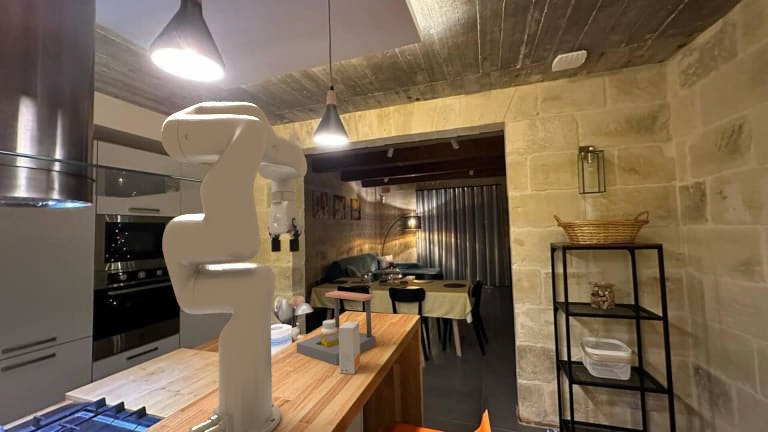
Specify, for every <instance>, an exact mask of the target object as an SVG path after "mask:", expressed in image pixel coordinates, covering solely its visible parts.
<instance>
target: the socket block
mask: <svg viewBox="0 0 768 432" xmlns="http://www.w3.org/2000/svg"><path fill="white" fill-rule="evenodd" d="M324 295H325V296H324V297H328V298H334V299H333V301H334V320H335V322H336V325H335V327H337V329H338V344H337V345H335V346H332V347H330V348H329V347H325V346H321V333H319V334H318V335H315V336H312V337H310V338H307V339H304V340H302V341H301V340H300V341H298V342H296V353H297V354H300V355H303V356H306V357H309V358H312V359H315V360H318V361H322V362H324V363H328V364H331V365H333V366H339V327H340V326H341V325H340V299H345V300H350V301H357V302H358V301H359V302H365V321H366V322H365V324H366V325H365V326H366V333H363V332H359V336H360V354H362V353H364V352H366V351H369V350H370V349H372V348H373V347H376V346H377V336H376V335H373V334H372V313H371V312H372V311H371V309H372V308H371V306H372V305H371V299H373V300H374V299H375V294H370V293H369V294H367V293H360V292H351V291H339V290H334V291H330V292H326V293H324Z"/></svg>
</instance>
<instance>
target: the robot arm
mask: <svg viewBox="0 0 768 432" xmlns="http://www.w3.org/2000/svg"><path fill="white" fill-rule="evenodd" d="M160 140H161V144H162V146H163V149H164V151H165V152H166V153H167V154H168V155H169V156H170V157H171V158H172V159H174V160H176V161H178V162H180V163H185V164H186V163H187V164H208V163H209V164H210V163H211V164H213V163H214V164H213V165H212V166H211V168H210V169H209V171H207V172H206V175H205V177H204V178H203V180H202V182H201V185H200V188H199V194H200V200H201V207H202V210H203V213H191V214H190V213H188V214H182V215H178V216H175V217H174V218H172V219H171V220H170V221H169V222H168V223H167V225H165V229H164V231H163V236H162V243H161V244H162V252H163V253H162V254H163V257H164V262H165V265H166V268H167V271H168V275H169V278H170V281H171V285H172V288H173V291H174V294H175V298H176V301H177V303H178V305H179V307H180V309H181V310H183V312H185V313H187V314H190V315H191V314H192V315H205V314H206V315H207V314H209V315H210V314H219V313H220V314H221V313H222V314H223V313H224V314H232V316H231V318H230V320H229V321H228V322H227V323H226V324H225V326H224V327H223V328H222V330H221V332H220V334H219V338H218V406H217V407H216V408H213V409H212V415H210V416H209V417H208V419H206V420H205V421H202V422H200V423H197V424H195V425H194V426H191V427H190V428H189V430H188V431H189V432H272V431H273V430H274V429H276V427H277V426H278V424H279V423H280V420H281V409H280V408H279V406H278V405H276V404H275V403H273V398H272V397H273V391H272V388H273V384H272V383H273V382H272V375H273V374H272V371H273V370H272V310H273V303H274V295H275V290H276V289H275V288H276V276H275V272H274V270H273V269H272V268H271V267H269V266H268V265H266V264H263V263H260V262H247V261H251V260H253V259H255V258H256V257H257V256H258V254H259V252H260V249H261V235H260V228H259V227H260V226H259V221H258V214H257V208H256V207H257V206H256V200H255V195H254V194H255V193H254V191H255V189H254V188H255V181H256V177H257V174H259V175H260V177H262V178H263V179H265V180H271V204H270V210H269V218H268V219H269V221H268V222H269V224H268V227H267V231H268V235H269V239H270V241H271V242H270V244H271V245H270V246H271V248H270V250H271V251H270V252H271V253H279V252H282V249H281V248H282V243H281V239H280V238H281V236H282V234H284V235H286V234H288V236H289V237H290V239H289V242H288V243H289V253H296V252H299V251H300V238H301V235H302V232H303V227H304V224H303V223H302V222H300V221H299V210H298V204H297V180H298V179H303V178H304V177H305V176H306V175H307V171H308V163H307V159H306V157H305V154H304V152H303V149H302V148H301V147H300V145H298V144H297V143H296V142H293V141H291V140H289V139H288V138H284V137H283V136H280V135H277V134H276V132H275V130H274V128H273V127H272V124H271V122H270V121H269V119H268V118H267V116H266V113H265V112H264V111H263V110H262V108H260V107H259V106H257V105H256V104H253V103H249V102H243V101H242V102H240V101H235V102H234V101H233V102H232V101H228V102H227V101H221V102H219V101H217V102H216V101H209V102H208V101H207V102H206V101H205V102H202V103H198V104H195V105H193V106H190V107H188V108H185V109H183V110H181V111H178V112H176V113H174V114H172V115H170V116H169V117H168V118H167V119H165V121H164V123H163V125H162V128H161V131H160Z"/></svg>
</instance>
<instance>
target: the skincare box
mask: <svg viewBox="0 0 768 432" xmlns="http://www.w3.org/2000/svg"><path fill="white" fill-rule="evenodd" d="M359 333H360V322H359V321H345V322H344V323H342V324H341V325H340V327H339V364H338V366H339V373H340V374H348V375H354V374H355V373H356V371H357V370H358V369H359V367H360V366H361V353H360V336H359Z"/></svg>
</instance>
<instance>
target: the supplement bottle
mask: <svg viewBox="0 0 768 432" xmlns="http://www.w3.org/2000/svg"><path fill="white" fill-rule="evenodd" d="M335 325H336V322H335V319H326V320H323V321H322V328H321V330H320V334H321V346H325V347H329V348H330V347H332V346H335V345H337V344H338V329H337V327H335Z"/></svg>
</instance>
